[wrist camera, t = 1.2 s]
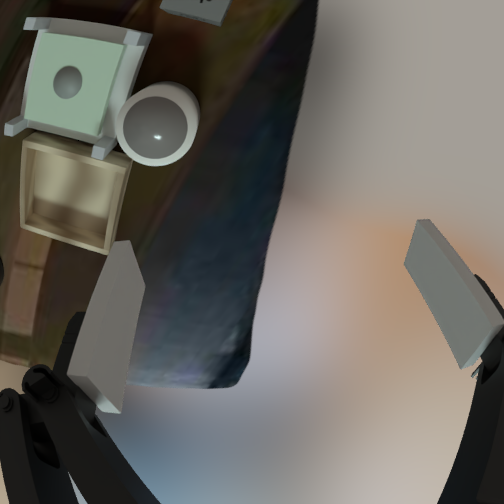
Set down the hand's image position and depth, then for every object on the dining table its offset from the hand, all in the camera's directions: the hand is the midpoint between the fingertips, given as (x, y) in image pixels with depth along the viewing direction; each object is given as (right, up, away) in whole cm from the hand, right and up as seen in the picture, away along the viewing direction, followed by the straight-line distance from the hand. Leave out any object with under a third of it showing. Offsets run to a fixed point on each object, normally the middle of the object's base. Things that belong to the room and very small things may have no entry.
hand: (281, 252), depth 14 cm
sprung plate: (-18, +16, +8) cm, 26 cm away
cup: (-10, +13, +14) cm, 22 cm away
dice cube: (-6, +23, +7) cm, 25 cm away
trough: (-22, +7, +17) cm, 29 cm away
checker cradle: (-18, +17, +10) cm, 27 cm away
